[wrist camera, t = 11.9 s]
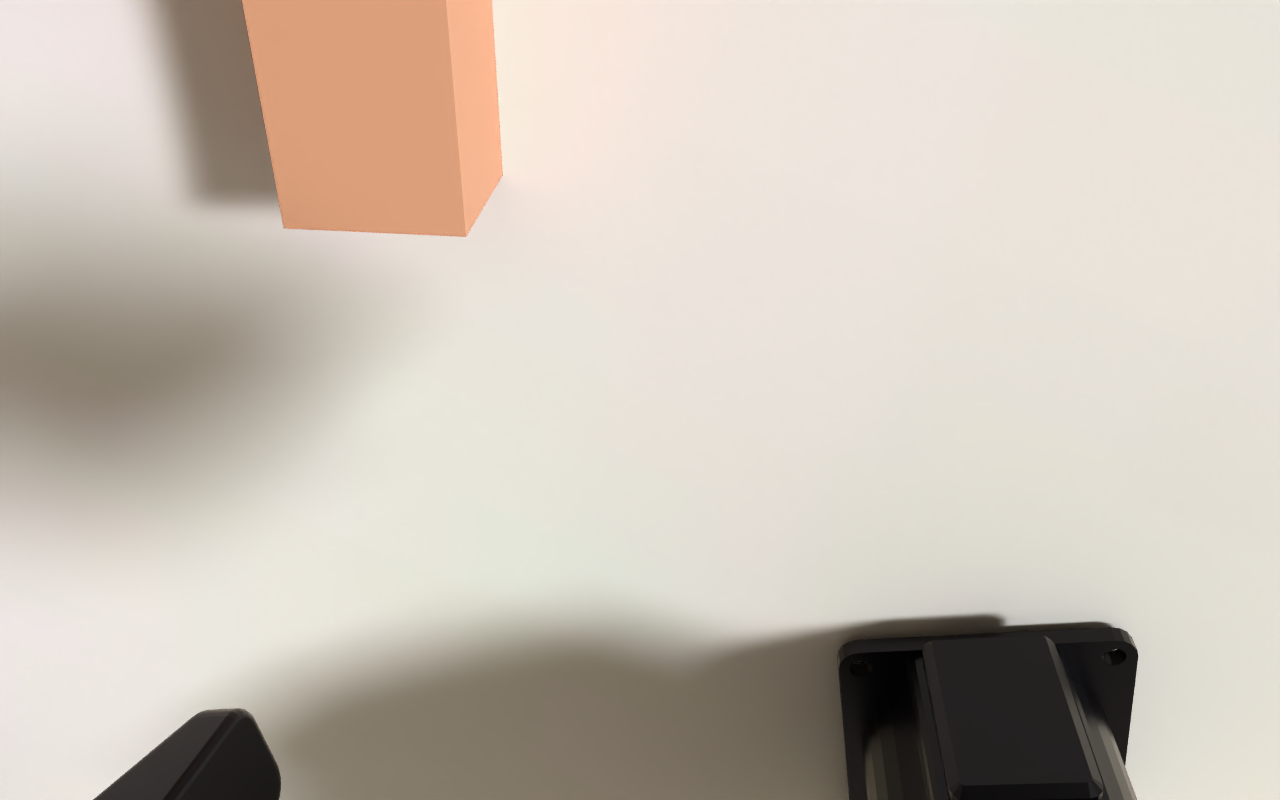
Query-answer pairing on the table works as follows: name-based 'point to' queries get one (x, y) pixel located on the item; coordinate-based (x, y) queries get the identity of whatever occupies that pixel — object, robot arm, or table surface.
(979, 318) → the table surface
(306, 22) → the salmon orange bar
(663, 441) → the table surface
